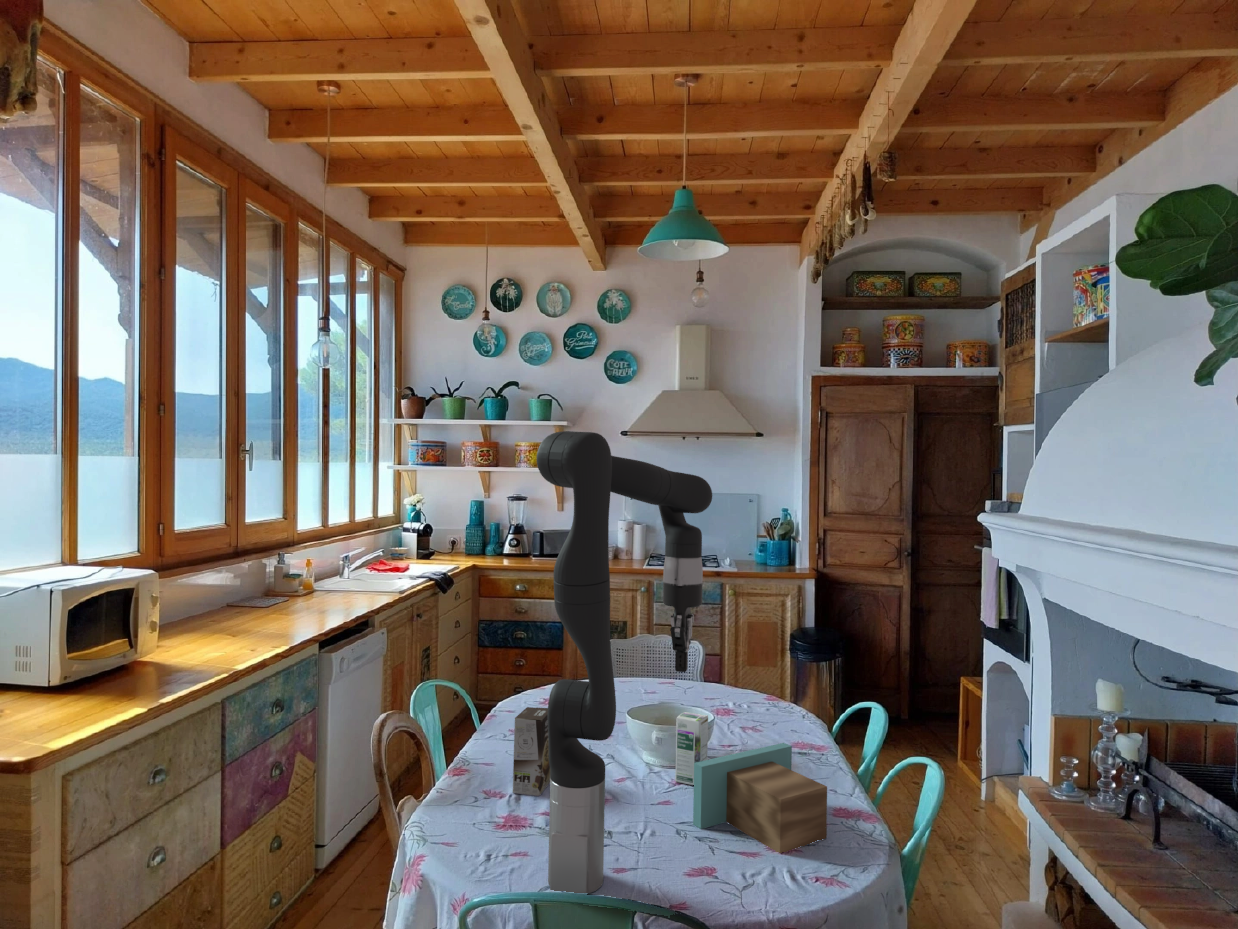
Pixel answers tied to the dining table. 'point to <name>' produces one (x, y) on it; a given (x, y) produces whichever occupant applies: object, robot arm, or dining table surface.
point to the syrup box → (690, 745)
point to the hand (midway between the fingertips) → (681, 671)
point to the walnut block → (776, 806)
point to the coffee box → (531, 752)
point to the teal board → (714, 780)
